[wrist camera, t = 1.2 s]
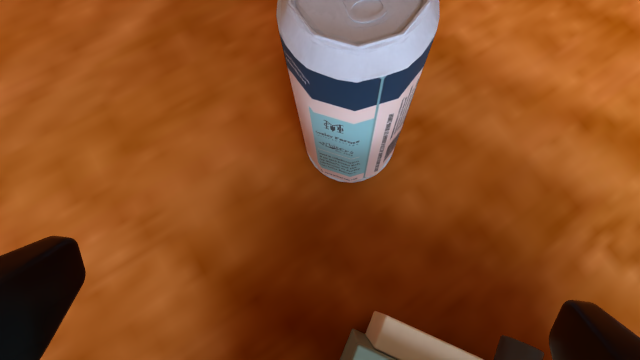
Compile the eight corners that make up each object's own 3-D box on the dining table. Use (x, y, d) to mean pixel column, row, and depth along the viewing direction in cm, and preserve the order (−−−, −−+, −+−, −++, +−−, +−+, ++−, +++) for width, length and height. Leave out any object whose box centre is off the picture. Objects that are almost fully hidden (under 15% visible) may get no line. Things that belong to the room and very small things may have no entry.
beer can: (377, 94, 23) (412, -104, 12) (405, 170, 22) (476, 31, 10) (296, 117, 23) (252, -60, 12) (320, 195, 22) (297, 82, 10)
